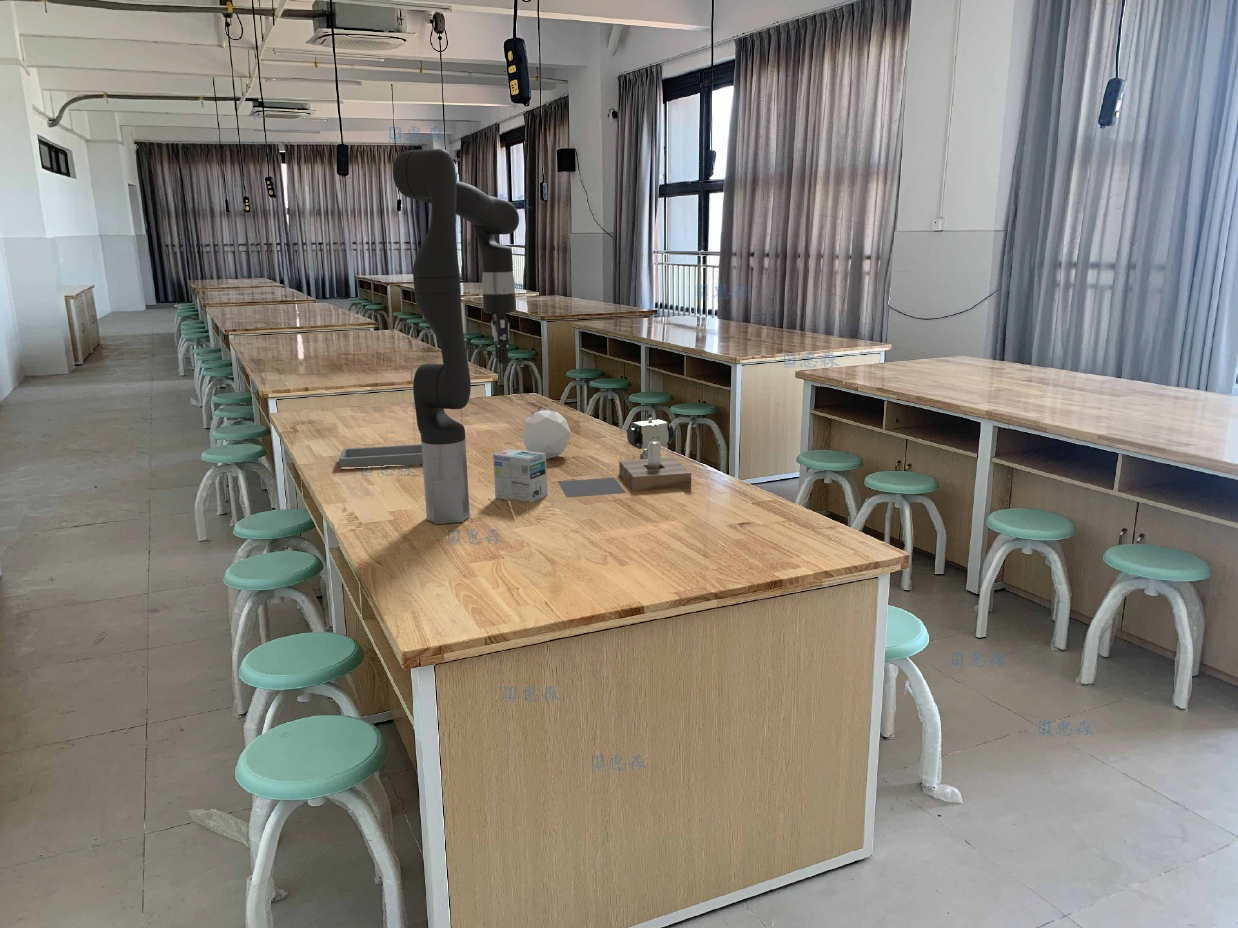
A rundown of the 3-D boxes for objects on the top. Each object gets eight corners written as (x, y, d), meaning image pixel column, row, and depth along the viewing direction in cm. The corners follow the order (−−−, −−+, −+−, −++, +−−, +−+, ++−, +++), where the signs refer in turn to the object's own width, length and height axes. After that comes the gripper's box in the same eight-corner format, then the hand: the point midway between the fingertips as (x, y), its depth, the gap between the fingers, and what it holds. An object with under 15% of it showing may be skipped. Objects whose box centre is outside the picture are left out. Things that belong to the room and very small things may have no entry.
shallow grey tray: (429, 464, 241) (428, 453, 240) (340, 470, 236) (339, 459, 235) (429, 454, 252) (428, 443, 251) (343, 459, 247) (342, 448, 247)
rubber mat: (626, 495, 210) (626, 492, 210) (566, 499, 207) (566, 497, 207) (614, 479, 223) (614, 477, 223) (558, 483, 220) (557, 481, 220)
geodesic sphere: (528, 446, 234) (553, 401, 236) (500, 438, 244) (524, 395, 247) (564, 471, 243) (588, 427, 246) (536, 462, 254) (558, 420, 256)
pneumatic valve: (626, 463, 239) (626, 419, 236) (665, 458, 244) (665, 414, 241) (636, 468, 234) (635, 422, 231) (675, 462, 239) (675, 418, 236)
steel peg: (661, 483, 219) (661, 443, 216) (649, 484, 218) (649, 444, 216) (658, 480, 222) (658, 441, 219) (646, 481, 221) (646, 441, 219)
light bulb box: (548, 497, 209) (547, 452, 206) (531, 505, 203) (529, 458, 201) (511, 491, 214) (509, 447, 212) (494, 498, 209) (491, 453, 206)
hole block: (691, 489, 214) (691, 472, 213) (633, 493, 211) (633, 476, 210) (673, 472, 229) (673, 457, 228) (619, 476, 226) (619, 460, 225)
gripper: (517, 293, 204) (520, 364, 208) (511, 289, 218) (514, 356, 222) (484, 294, 203) (488, 365, 207) (480, 290, 216) (484, 358, 220)
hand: (501, 361), depth 214 cm, fingers open, 8 cm apart
